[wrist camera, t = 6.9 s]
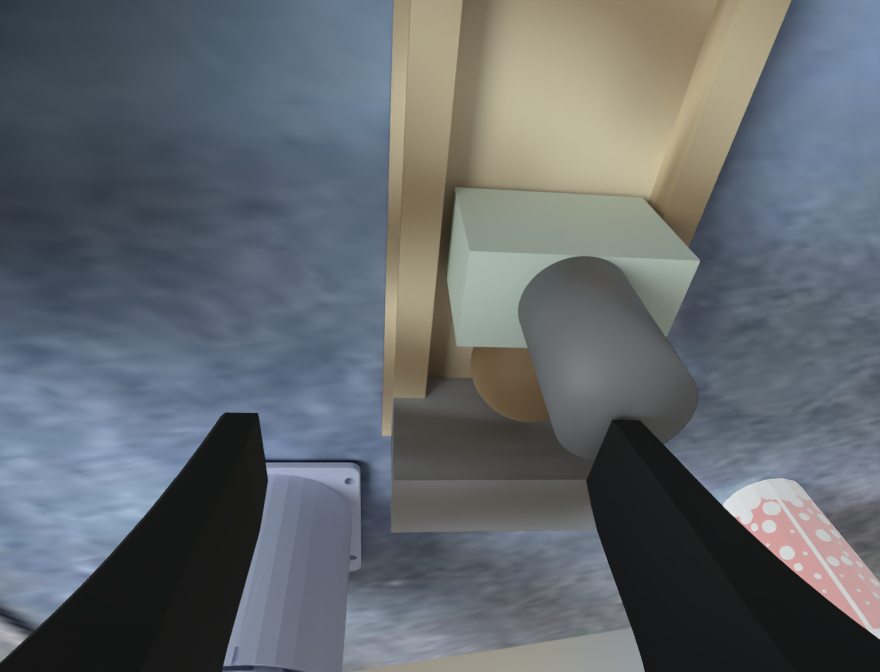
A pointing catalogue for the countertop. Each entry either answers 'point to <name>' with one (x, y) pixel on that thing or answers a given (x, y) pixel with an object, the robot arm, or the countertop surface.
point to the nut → (508, 382)
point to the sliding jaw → (576, 304)
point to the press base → (540, 170)
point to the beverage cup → (809, 546)
